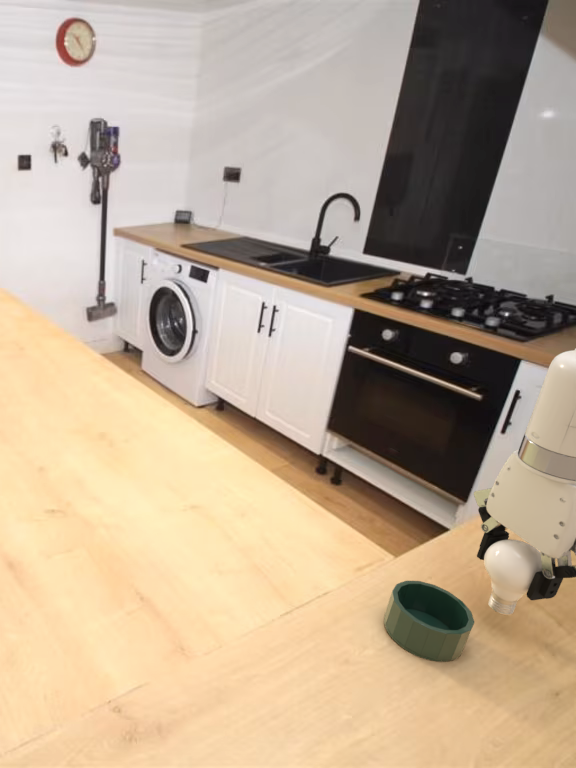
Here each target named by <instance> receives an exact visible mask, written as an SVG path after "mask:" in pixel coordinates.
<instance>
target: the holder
mask: <svg viewBox="0 0 576 768" xmlns="http://www.w3.org/2000/svg"><path fill="white" fill-rule="evenodd" d="M383 625H384V628H385V630H386V632H387V634H388V635H389V636H390V638H391V639H392V640H393V641H394V642H395V643H396V644H397V645H398V646H400V647H401V648H402V649H404V650H405V651H406V652H408V653H410V654H411V655H414V656H415V657H418V658H421V659H423V660H427V661H431V662H439V663H446V662H452V661H455V660H457V659H458V658H460V657H461V656H462V654H463V651H464V649H465V646H466V644H467V641H468V639H469V637H470V634H471V633H472V630H473V627H474V625H475V619H474V616H473V613H472V611H471V609H470V608H469V607H468V605H466V604H465V602H463V601H462V599H460V598H459V597H457V596H456V595H454V594H453V593H452V592H450V591H449V590H446V589H444V588H442V587H440V586H438V585H436V584H433V583H429V582H425V581H421V580H404V581H401V582H398V583H396V585H394V587H393V589H392V592H391V594H390V596H389V599H388V603H387V606H386V609H385V612H384V617H383Z"/></svg>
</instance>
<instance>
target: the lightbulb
mask: <svg viewBox="0 0 576 768" xmlns="http://www.w3.org/2000/svg"><path fill="white" fill-rule="evenodd" d="M483 566H484V569H485V571H486V573H487V575H488V577H489V578H490V586H491V587H490V588H491V593H490V596H489V599H488V602H487V604H488V607H489V608H490V609H491V610H493V612H495V613H497V614H500V615H504V616H511V615H513V614H514V612H515V609H516V607H517V603H518V601H519V600H521V599H522V598H523V597H524V596H525V595H526V594H527V592H528V589H529V587H530V584H531V582H532V580H533V577H534V575H535V573H536V572H540V571H542V563H541V552H540V551H539V550H538V549H536V548H535V547H533V546H532V545H530V544H529V543H528V542H526V541H524V540H523V541H522V540H518V539H511V538H510V539H509V538H508V539H507V540H501V541H498V542H495V543H494V544H492V545H491V546H490V547H489V548H488V549H487V551H486V553H485V555H484V560H483Z"/></svg>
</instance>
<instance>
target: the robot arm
mask: <svg viewBox="0 0 576 768" xmlns="http://www.w3.org/2000/svg"><path fill="white" fill-rule="evenodd" d="M473 496H474V499H475V502H476V504H477V507H478V509H477V510H478V514H479V517H480V519H481V522H482V524H481V525H480V529H481V530H482V532H483V536H482V537H481V541H480V543H479V549H478V552H477V554H476V558H478V560H480V561H484V555H485V553H486V551H487V549H488V548H489V547H490V546H491V545H492V544H494V543H495V542H498V541H501V540H507V539H509V538H510V536H509V535H510V533H509V532H508V531H507V530H509V531H510V532H512V533H513V534H514V535H516V536H518V537H519V538H520V539H521V540H523V541H524V542H525V543H528V544H530V545H532V546H533V547H535V548H536V549H537V550H538V551H539V552H540V553H541V563H542V571H540V572H536V573H535V575H534V577H533V580H532V582H531V584H530V587H529V589H528V592H527V593H525V595H526V597H527V598H528V599H529V600H530V601H538V600H544V599H546V600H548V599H553V598H555V596H556V595H557V593H558V591H559V589H560V587H561V584H562V583H563V580H564V579H572V578H576V564H573V563H572V552H573V553H574V556H576V348H574V350H573V349H572V350H566V351H564V352H563V351H562V352H561V353H559V354H557V355H556V356H554V358H553V359H552V361H550V364H549V366H548V369H547V371H546V374H545V377H544V380H543V382H542V386H541V388H540V390H539V394H538V396H537V399H536V401H535V405H534V407H533V410H532V412H531V415H530V418H529V421H528V423H527V426H526V429H525V431H524V434H523V437H522V440H521V442H520V445H519V448H518V449H515V450H514V451H513V452H511V454H510V455H509V456H508V458H507V460H506V461H505V462H504V464H503V465H502V467H501V469H500V471H499V472H498V475H497V476H496V478H495V480H494V483H493V485H492V487H490V488H486V489H479V490H475V491H474V492H473ZM571 551H572V552H571ZM556 561H557V562H556ZM556 563H557V565H556Z"/></svg>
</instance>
